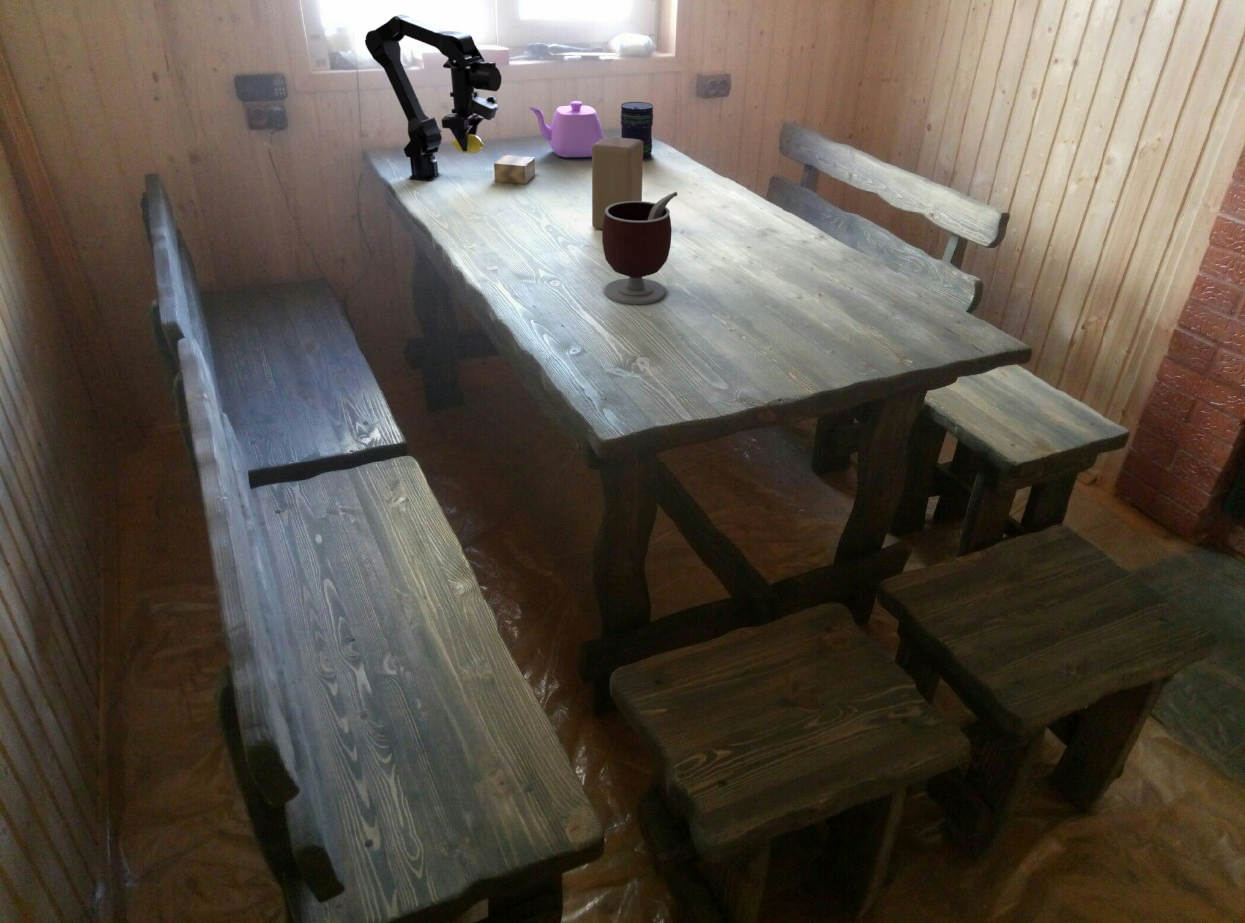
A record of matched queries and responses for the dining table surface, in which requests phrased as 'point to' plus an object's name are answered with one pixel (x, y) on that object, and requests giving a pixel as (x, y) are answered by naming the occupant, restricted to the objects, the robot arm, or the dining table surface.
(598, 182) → the block
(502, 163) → the maple block
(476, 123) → the robot arm
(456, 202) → the dining table surface
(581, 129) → the teapot
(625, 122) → the storage jar
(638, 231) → the mate gourd
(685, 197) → the dining table surface
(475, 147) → the lemon
